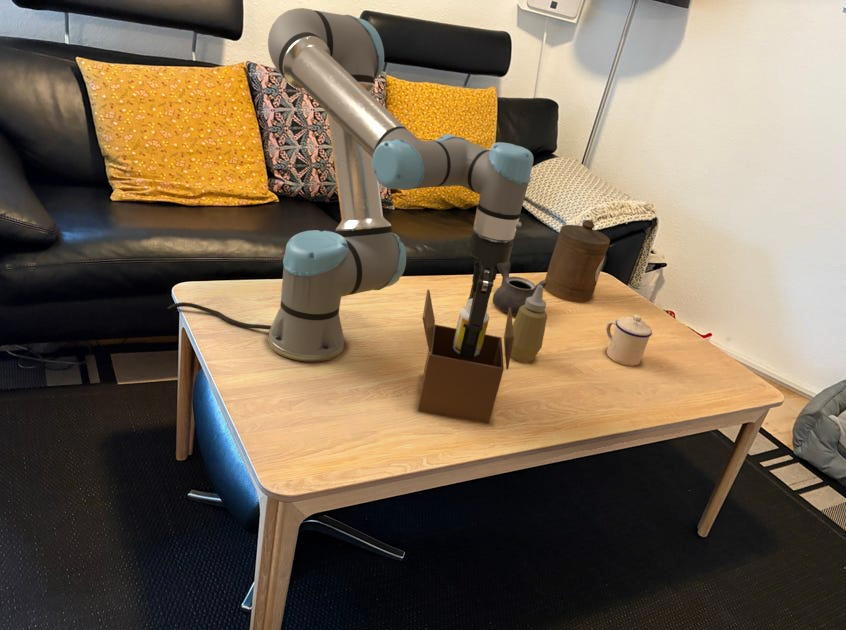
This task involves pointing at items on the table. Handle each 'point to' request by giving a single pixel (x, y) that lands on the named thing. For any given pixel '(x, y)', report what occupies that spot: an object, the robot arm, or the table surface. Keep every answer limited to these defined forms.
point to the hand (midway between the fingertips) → (466, 349)
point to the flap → (428, 320)
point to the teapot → (513, 290)
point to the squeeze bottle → (529, 327)
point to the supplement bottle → (460, 329)
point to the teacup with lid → (628, 340)
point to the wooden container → (576, 262)
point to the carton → (464, 376)
